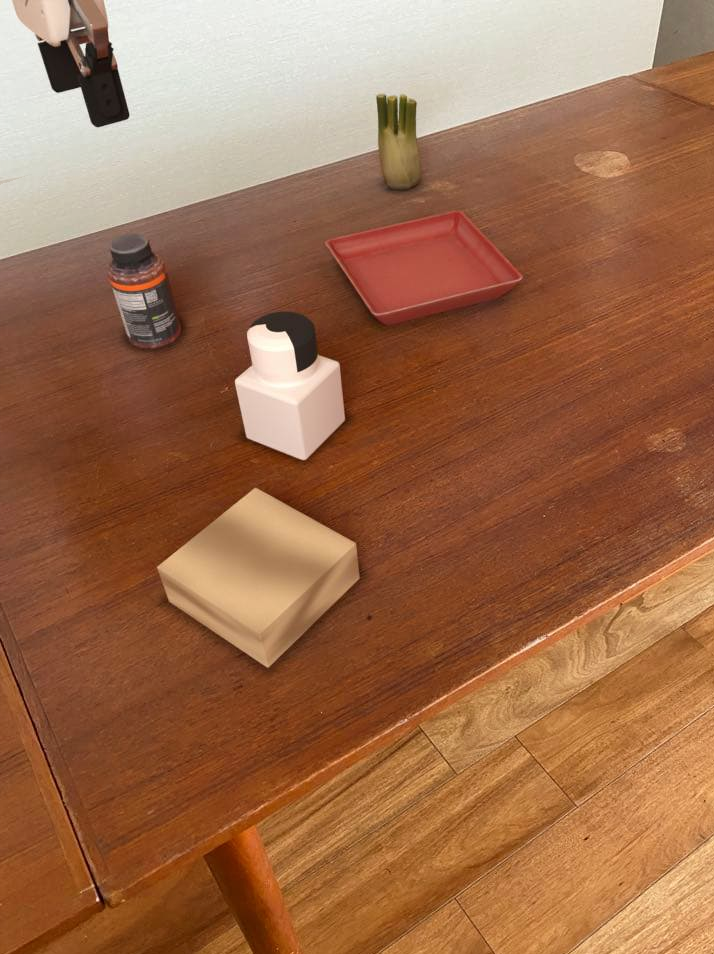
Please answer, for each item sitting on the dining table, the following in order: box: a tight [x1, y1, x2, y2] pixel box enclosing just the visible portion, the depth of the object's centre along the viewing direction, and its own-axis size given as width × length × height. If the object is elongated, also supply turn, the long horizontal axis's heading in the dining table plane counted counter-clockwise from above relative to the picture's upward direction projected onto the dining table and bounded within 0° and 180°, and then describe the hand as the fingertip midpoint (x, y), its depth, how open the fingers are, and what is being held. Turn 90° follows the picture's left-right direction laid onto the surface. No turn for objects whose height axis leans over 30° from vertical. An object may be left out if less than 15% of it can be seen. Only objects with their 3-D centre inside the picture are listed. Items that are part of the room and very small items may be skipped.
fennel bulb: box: [375, 93, 422, 192], centre depth 116 cm, size 6×5×12 cm
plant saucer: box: [324, 210, 523, 326], centre depth 102 cm, size 18×18×3 cm
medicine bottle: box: [234, 310, 346, 461], centre depth 80 cm, size 7×7×12 cm
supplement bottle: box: [107, 233, 182, 350], centre depth 92 cm, size 6×6×11 cm
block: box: [156, 487, 360, 669], centre depth 69 cm, size 11×11×4 cm
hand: (90, 104), depth 75 cm, fingers open, 9 cm apart
